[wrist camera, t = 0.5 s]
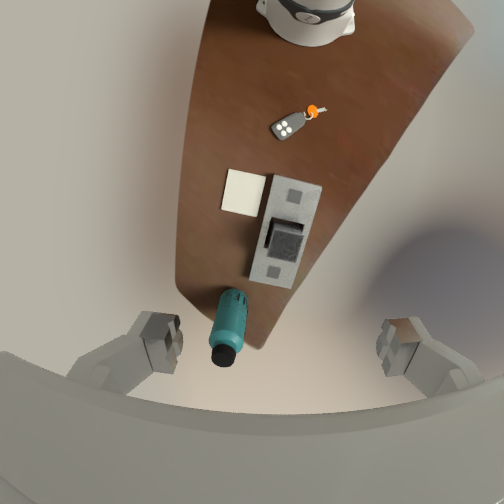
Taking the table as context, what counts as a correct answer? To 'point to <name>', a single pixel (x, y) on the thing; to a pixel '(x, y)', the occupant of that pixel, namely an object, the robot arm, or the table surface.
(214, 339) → the beverage bottle
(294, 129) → the key chain
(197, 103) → the table surface
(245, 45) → the table surface
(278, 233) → the dark grey box
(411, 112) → the table surface
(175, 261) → the table surface
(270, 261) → the cabinet panel
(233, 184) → the pad
